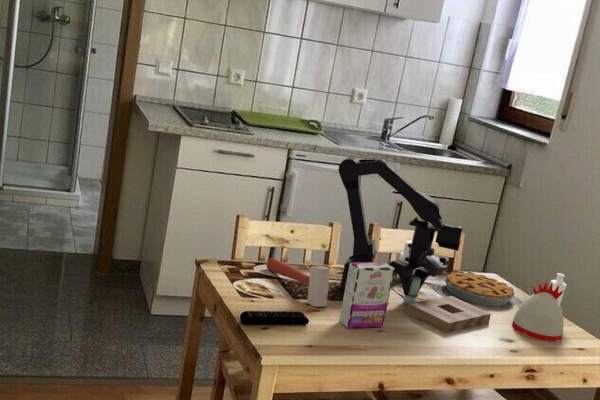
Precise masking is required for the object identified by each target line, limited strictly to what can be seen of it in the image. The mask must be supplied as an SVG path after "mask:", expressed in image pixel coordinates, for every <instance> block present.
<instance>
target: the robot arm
mask: <svg viewBox="0 0 600 400" xmlns="http://www.w3.org/2000/svg"><path fill="white" fill-rule="evenodd" d="M338 174H339V176H340V179H341V182H342V184H343V187H344V189H345V190H346V194H347V195H346V196H347V202H348V209H349V215H350V221H351V227H352V228H351V229H352V235H353V248H352V255H350V256H349V257H348V258H347V259H346V261H345V263H344V265H343V270H342V275H341V281H340V284H336V286H335V287H336V288H337V289H340V290H341V291H343V292H345V287H346V281H347V276H348V270H349V265H350V262H375V259H376V256H377V255H378V251H377V249H376V239H372V240H371V239H370V237H369V233H368V226H367V222H366V216H365V209H364V203H363V197H362V188H361V187H362V186H361V185H362V176H368V175H369V176H370V175H378V176H379V177H380V178H381V179H382V180H384V181H385V182H386V183H387V184H389V185H390V186H391V187H392V188H393V189H394V190H395V191H396V192H397V193H398V194H400V195H401V196H402V197H403V198H404V199H405V200H406V201H407V202H408V203H409V204H410V206H411V207H412V209H413V211H414V213H416V214H417V216H415V217H414V218H413V219H410V220H409V223H408V224H409V226H412V227H414V231H413V234H412V239H411V240H412V243H408V247H409V248H410V253H409V257H405V261H407V262H408V263H406V262H403V261H401V260H399V259H398V260H397V259H396V260H392V261H390V262H389V263H388V264H389V265H390V266H392V267H393V268H395V269H394V274H396V275H397V274H398V275H399V277H400V279H399V280H400V284H401V287H402V291H403V295H404V296H405V295H406V296H407V295H408V293H409V290H410V287H411V284H412V281H413V279H414V278H416V277H419V278H421V283H420V287H419V291H420V290H421V289H422V287H423V285H424V283H425V282H426V281H427V279H428V278H429V277H437V276H438V277H439V276H442V275H443V273H444V272H445V271H448V267H449V264H450V263H449V262H450V259H449V258H448V257H447V256H443V257H439V256H436V255H435V248H433V242H434V237H435V234H436V238H435V243H437V244H436V245H438V248H443V249H446V250H447V249H448V250H453V251H457V252H458V251H459V248H460V246H461V238H462V237H461V236H462V232H463V226H460V225H451V224H446V223H444V219H443V218H442V216H441V214H440V212H441V211H440V210H441V208H440V203H439V202H438V201H437V200H436V199H434V198H433V197H432V196H430V195H428V194H426V193H424V192H422V191H420V190H419V189H418V188H416V187H415V186H414V185H413V184H411V183H410V182H409V181H408V180H407V179H406V178H404V176H402V175H401V174H400V173H399V172H398V171H397V170H396V169H395V168H393V167H392V166H391V165H390V164H389V163H388V161H386V160H385V159H384V158H376V159H373V158H372V159H367V158H363V159H361V158H360V159H358V158H357V157H355V156H348V157H346V158H345V159H344V160H342V161H341V162H340V164H339V166H338ZM429 223H430V224H429Z"/></svg>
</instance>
